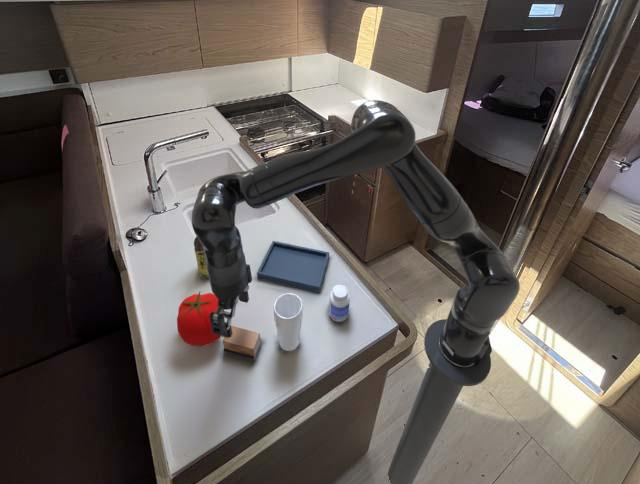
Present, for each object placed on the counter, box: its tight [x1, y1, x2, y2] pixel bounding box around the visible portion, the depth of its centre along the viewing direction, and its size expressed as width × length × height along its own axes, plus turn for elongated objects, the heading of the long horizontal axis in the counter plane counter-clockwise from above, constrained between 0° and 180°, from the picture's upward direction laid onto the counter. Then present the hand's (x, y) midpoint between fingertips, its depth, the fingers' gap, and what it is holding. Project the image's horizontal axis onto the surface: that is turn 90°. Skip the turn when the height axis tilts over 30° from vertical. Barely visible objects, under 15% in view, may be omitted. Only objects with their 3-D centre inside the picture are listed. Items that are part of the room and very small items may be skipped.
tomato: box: [176, 291, 225, 347], centre depth 81 cm, size 12×12×13 cm
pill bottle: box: [328, 284, 351, 323], centre depth 87 cm, size 5×5×10 cm
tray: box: [256, 240, 330, 293], centre depth 102 cm, size 20×14×2 cm
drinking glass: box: [273, 292, 304, 352], centre depth 79 cm, size 7×7×15 cm
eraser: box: [222, 325, 263, 363], centre depth 80 cm, size 8×5×5 cm, turn 76°
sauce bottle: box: [193, 235, 209, 279], centre depth 96 cm, size 6×6×20 cm
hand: (236, 317), depth 74 cm, fingers open, 8 cm apart
